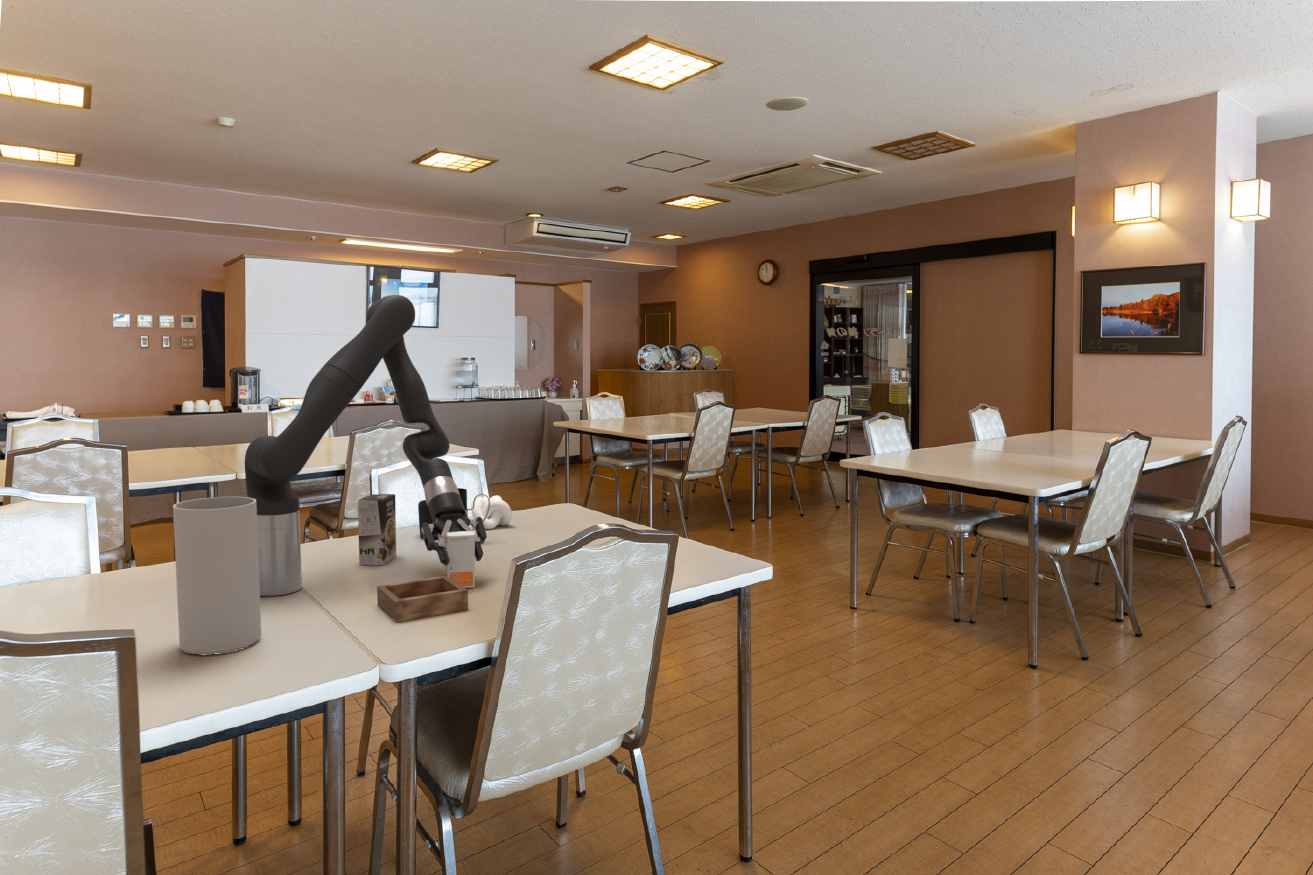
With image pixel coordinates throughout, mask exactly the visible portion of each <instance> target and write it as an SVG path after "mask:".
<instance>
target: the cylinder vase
mask: <svg viewBox="0 0 1313 875" xmlns="http://www.w3.org/2000/svg"><path fill="white" fill-rule="evenodd" d="M172 512H173V513H172V515H173V516H172V517H173V532H174V533H173V535H174V536H173V537H174V555H175V574H176V575H175V576H176V597H177V598H176V599H177V600H176V601H177V615H178V616H177V619H178V637H179V638H178V639H179V648H180V650H182V651H183V652H184V653H186V654H189V653H191V654H190V655H193V654H215V653H225V654H228V653H227V652H230V653H233V652H232V651H234V652H236V651H235V650H238V651H240V650H239V649H241V648H244V649H246V648H245V647H246V646H249V647H251V646H253V645H254V644H256V643H257V642H258V641H259V640H260V638H261V636H262V620H261V619H262V618H261V596H260V588H259V562H258V535H257V508H256V499H253V498H248V496H247V497H245V496H215V497H213V496H212V497H203V498H196V499H190V500H189V499H188V500H183V501H179V502H177V503H175V504H173V505H172ZM256 641H257V642H256ZM255 642H256V643H255ZM252 644H253V645H252ZM250 645H251V646H250ZM241 650H242V649H241Z"/></svg>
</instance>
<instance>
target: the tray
mask: <svg viewBox="0 0 1313 875" xmlns="http://www.w3.org/2000/svg"><path fill="white" fill-rule="evenodd" d="M376 589H377V590H376V591H377V593H376V595H377V598H376V599H377V602H376V603H377V606H378V607H379V608H380V609H381V610H382V611H383V612H384V613H385V614H386V615H388V617H390V618H391V619H392V620H393V621H394V622H395V623H400V622H406V621H412V620H416V619H417V618H418V619H423V618H428V617H434V616H440V615H444V614H450V612H451V613H455V612H456V611H457V612H461V611H466V610H469V590H468V588H464V587H463V586H461V585H459V584H458V583H456V582H455V581H453V580H452V579H450V578H449V577H447V575H443V576H436V577H429V578H422V579H416V580H408V581H402V582H396V583H390V584H383V585H382V584H381V585H377V586H376ZM457 612H456V613H457ZM418 619H417V620H418Z"/></svg>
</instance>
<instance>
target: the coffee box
mask: <svg viewBox="0 0 1313 875" xmlns="http://www.w3.org/2000/svg"><path fill="white" fill-rule="evenodd" d="M396 508H397V507H396V493H395V494H394V493H392V494H390V493H379V494H375V493H374V494H370V495H367V496H364V497H362V498H360V499H358V500H357V515H358V516H357V517H358V518H357V519H358V521H357V522H358V523H357V524H358V565H362V566H364V565H365V566H367V565H369V566H385V564H387V563H389V562H390V561H392V560H393V559H394V558H396V557H397V523H396V522H397V519H396V518H397V517H396V514H397V513H396V512H397V511H396Z"/></svg>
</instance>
